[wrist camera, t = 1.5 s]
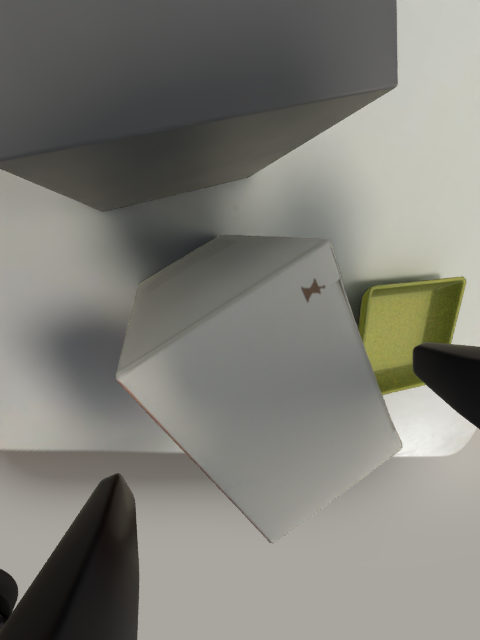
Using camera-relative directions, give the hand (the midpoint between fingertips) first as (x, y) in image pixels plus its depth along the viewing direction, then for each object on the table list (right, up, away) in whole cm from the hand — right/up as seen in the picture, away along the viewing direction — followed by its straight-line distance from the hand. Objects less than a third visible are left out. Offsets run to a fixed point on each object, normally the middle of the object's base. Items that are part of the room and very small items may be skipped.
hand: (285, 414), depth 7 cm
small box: (-3, +3, +9) cm, 10 cm away
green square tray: (+11, +2, +14) cm, 18 cm away
